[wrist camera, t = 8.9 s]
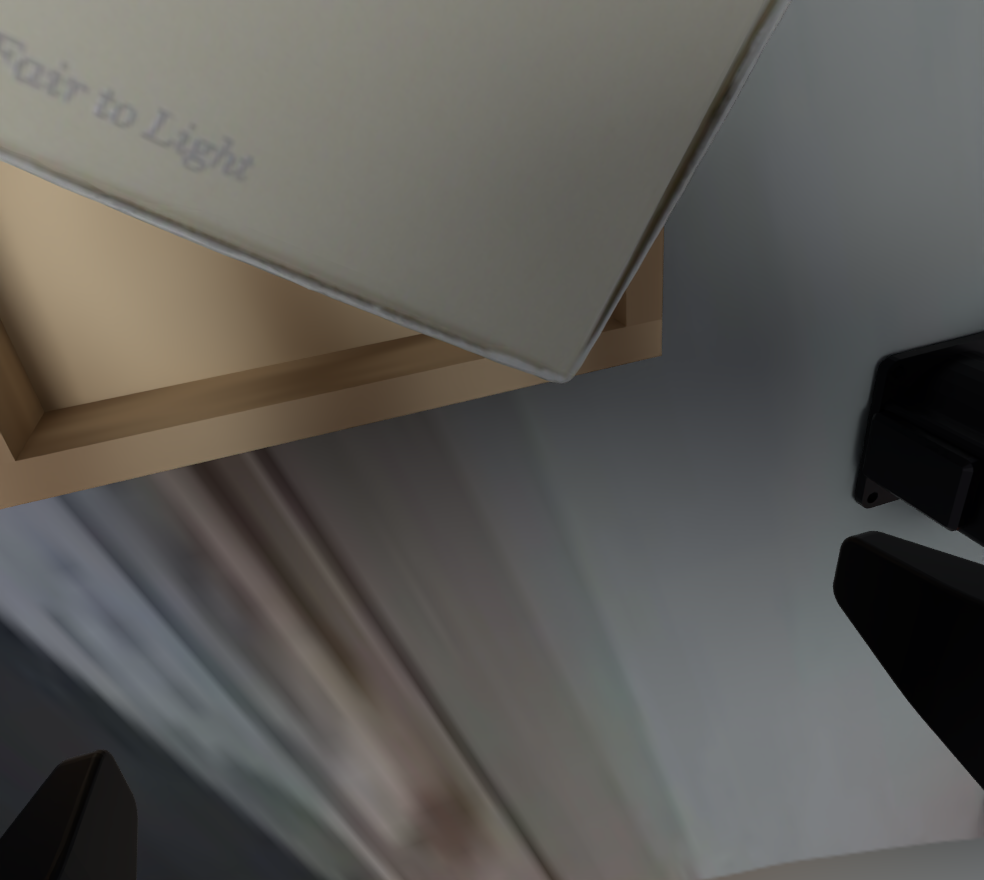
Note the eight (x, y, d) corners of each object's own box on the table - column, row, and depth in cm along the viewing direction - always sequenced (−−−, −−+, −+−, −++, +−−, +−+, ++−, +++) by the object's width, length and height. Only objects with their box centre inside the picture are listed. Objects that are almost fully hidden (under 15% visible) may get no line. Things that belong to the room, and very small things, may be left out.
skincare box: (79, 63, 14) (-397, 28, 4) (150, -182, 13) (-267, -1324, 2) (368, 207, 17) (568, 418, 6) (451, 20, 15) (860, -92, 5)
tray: (583, -484, 13) (680, -645, 10) (603, 316, 21) (661, 355, 18) (-461, -542, 10) (-764, -807, 7) (28, 439, 18) (-16, 512, 15)
